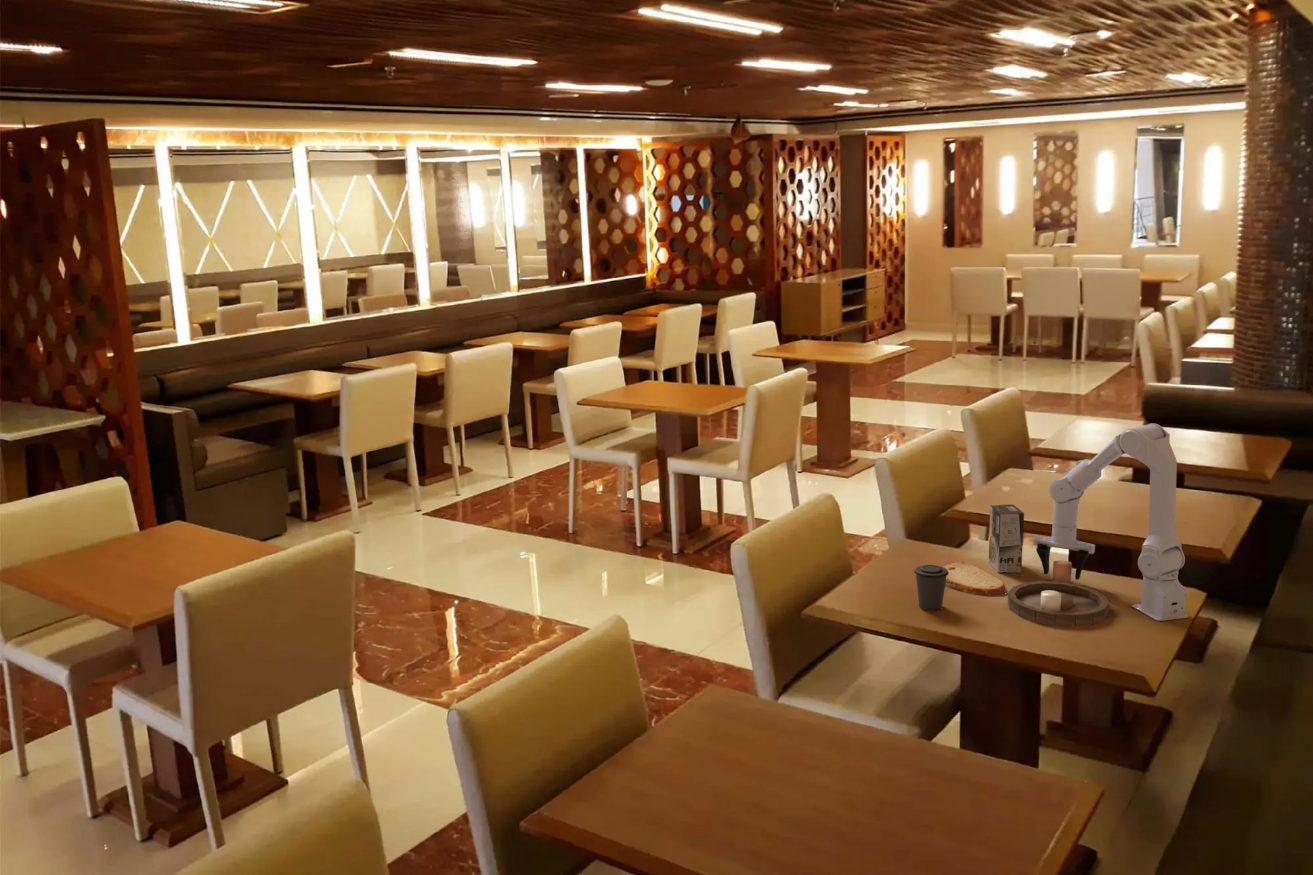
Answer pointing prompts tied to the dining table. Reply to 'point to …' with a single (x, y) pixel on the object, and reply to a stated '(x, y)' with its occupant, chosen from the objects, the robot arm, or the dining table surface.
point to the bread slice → (973, 580)
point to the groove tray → (1075, 604)
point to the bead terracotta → (1062, 571)
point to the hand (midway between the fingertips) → (1061, 575)
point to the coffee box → (1006, 538)
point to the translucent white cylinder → (1050, 600)
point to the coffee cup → (931, 586)
